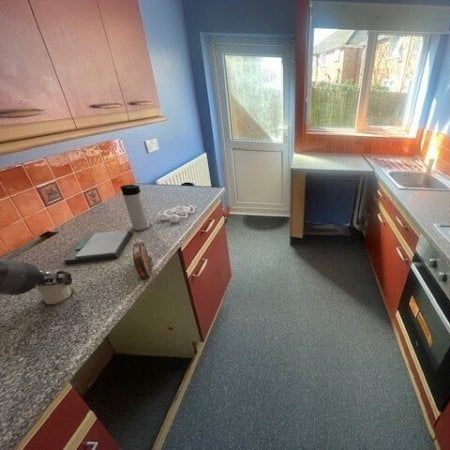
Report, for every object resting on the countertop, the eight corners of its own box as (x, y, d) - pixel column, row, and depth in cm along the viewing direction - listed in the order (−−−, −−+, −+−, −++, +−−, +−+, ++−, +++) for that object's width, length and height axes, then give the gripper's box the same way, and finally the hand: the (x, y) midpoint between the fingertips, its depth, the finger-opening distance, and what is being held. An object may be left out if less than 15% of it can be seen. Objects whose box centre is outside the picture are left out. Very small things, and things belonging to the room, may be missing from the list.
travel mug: (129, 230, 107) (115, 186, 97) (142, 224, 112) (130, 181, 103) (141, 233, 105) (127, 188, 96) (153, 226, 111) (142, 183, 101)
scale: (66, 265, 85) (63, 259, 83) (89, 238, 100) (87, 232, 98) (117, 259, 89) (114, 253, 87) (132, 235, 104) (130, 229, 102)
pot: (41, 307, 69) (27, 285, 65) (52, 293, 73) (40, 271, 70) (66, 303, 70) (54, 281, 66) (75, 290, 75) (65, 268, 71)
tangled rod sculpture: (181, 207, 132) (179, 199, 131) (204, 209, 129) (203, 201, 127) (152, 221, 116) (150, 213, 114) (177, 224, 112) (175, 216, 110)
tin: (150, 281, 80) (144, 259, 76) (139, 284, 78) (132, 262, 74) (149, 256, 91) (143, 237, 87) (139, 259, 90) (132, 239, 86)
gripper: (46, 256, 58) (87, 266, 74) (-34, 264, 55) (26, 273, 70) (42, 288, 57) (85, 292, 72) (-41, 299, 53) (23, 300, 68)
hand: (56, 283), depth 71 cm, fingers closed on pot, 5 cm apart
